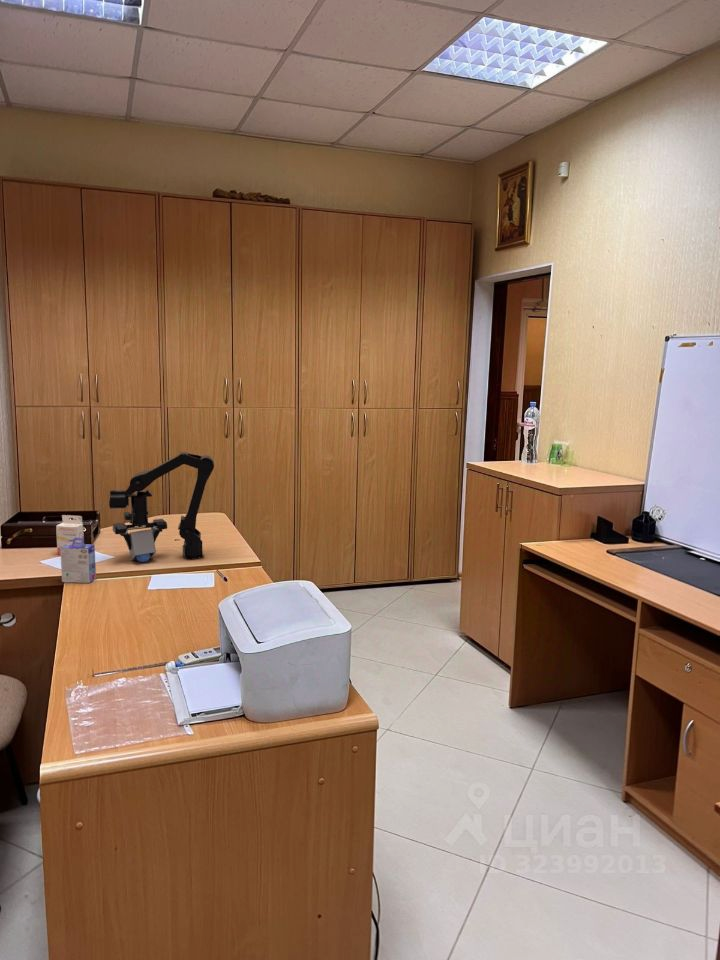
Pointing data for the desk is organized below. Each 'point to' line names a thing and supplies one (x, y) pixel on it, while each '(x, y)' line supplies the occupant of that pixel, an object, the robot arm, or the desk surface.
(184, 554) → the robot arm
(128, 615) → the desk surface
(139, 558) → the ball
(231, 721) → the desk surface
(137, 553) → the matte gray cube
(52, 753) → the desk surface
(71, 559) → the ink cartridge box
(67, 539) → the ink cartridge box
